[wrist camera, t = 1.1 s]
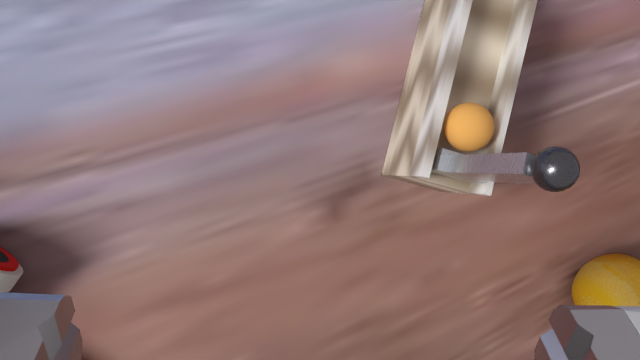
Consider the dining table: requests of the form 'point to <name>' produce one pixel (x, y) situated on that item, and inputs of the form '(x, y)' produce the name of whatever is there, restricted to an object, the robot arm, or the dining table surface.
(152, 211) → the dining table surface
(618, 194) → the dining table surface
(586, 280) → the fruit
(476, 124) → the ball
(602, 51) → the dining table surface
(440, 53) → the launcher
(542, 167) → the plunger
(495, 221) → the dining table surface
